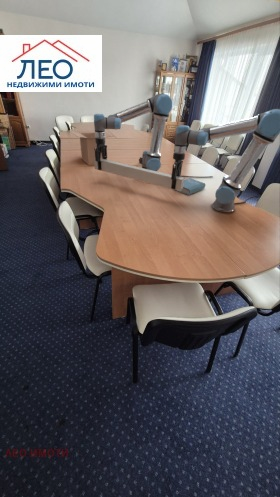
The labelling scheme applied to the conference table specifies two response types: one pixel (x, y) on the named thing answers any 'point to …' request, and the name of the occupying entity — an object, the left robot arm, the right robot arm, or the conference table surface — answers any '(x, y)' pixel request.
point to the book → (192, 186)
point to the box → (88, 145)
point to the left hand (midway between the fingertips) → (102, 168)
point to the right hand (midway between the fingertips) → (174, 187)
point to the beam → (140, 174)
